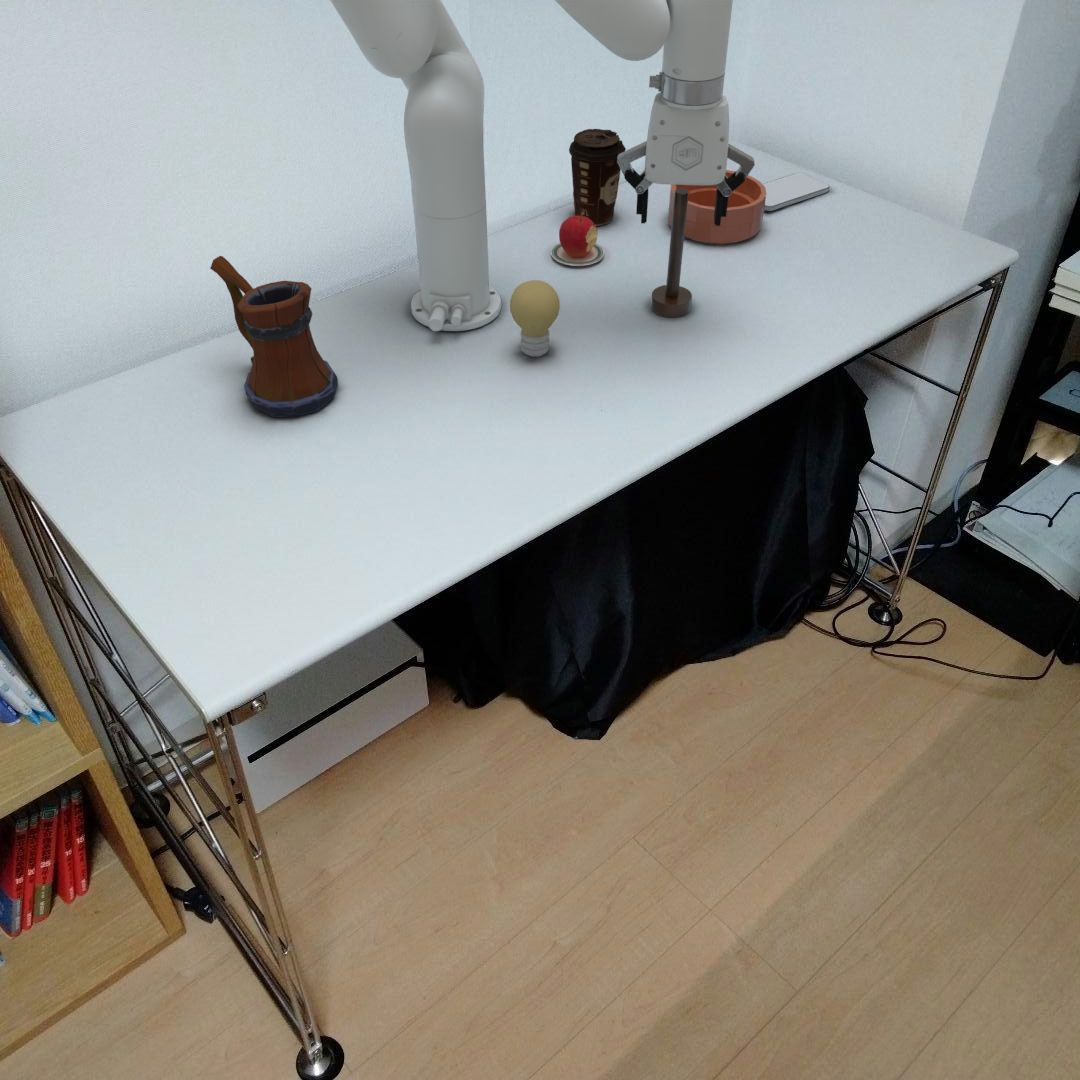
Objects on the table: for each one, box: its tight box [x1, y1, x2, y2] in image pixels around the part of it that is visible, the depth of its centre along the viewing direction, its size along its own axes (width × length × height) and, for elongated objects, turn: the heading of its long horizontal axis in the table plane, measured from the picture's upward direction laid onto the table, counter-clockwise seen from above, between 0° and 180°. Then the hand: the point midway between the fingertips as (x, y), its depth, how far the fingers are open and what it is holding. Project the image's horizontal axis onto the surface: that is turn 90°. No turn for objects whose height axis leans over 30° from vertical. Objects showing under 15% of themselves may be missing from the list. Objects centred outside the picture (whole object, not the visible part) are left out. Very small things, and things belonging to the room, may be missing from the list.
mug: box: [210, 255, 339, 418], centre depth 127 cm, size 18×12×15 cm, turn 45°
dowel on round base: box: [650, 188, 693, 319], centre depth 140 cm, size 6×6×17 cm
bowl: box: [667, 169, 766, 245], centre depth 162 cm, size 15×15×6 cm
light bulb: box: [509, 279, 561, 358], centre depth 134 cm, size 6×6×10 cm
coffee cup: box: [568, 128, 627, 227], centre depth 162 cm, size 9×8×13 cm
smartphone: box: [762, 172, 830, 212], centre depth 172 cm, size 7×1×15 cm
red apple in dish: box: [550, 212, 605, 267], centre depth 155 cm, size 8×8×6 cm
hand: (680, 220), depth 137 cm, fingers open, 9 cm apart
